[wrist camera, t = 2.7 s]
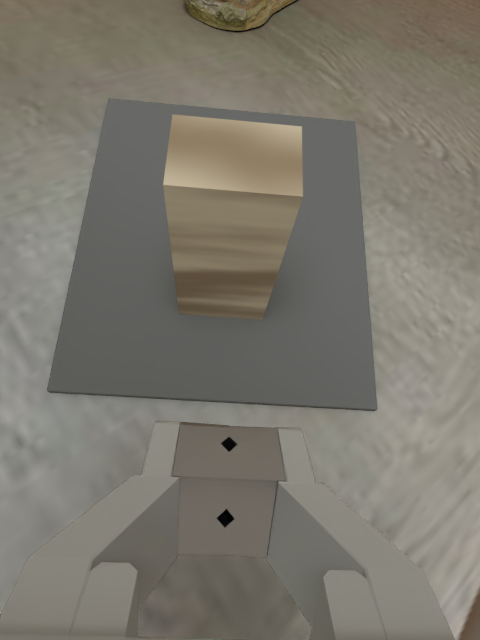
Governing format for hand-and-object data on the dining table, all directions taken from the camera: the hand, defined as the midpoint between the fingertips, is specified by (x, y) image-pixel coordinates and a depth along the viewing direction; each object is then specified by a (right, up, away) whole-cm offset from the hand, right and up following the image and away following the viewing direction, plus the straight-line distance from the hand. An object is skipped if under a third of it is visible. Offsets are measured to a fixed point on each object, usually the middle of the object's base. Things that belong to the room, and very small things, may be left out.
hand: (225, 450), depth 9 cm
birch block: (-1, +5, +23) cm, 24 cm away
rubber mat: (-1, +9, +26) cm, 27 cm away
